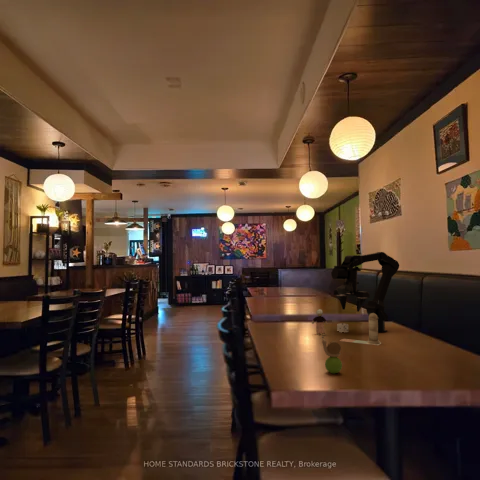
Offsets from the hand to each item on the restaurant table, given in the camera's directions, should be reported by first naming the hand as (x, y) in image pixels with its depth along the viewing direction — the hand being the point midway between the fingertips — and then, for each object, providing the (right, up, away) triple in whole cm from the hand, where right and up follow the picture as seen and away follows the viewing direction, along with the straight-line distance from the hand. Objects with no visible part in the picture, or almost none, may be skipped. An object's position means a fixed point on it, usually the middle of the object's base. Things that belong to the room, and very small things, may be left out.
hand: (350, 310), depth 194 cm
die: (-3, -12, +5) cm, 13 cm away
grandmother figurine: (-16, -12, -3) cm, 20 cm away
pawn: (+3, -10, -26) cm, 28 cm away
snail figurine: (-26, -8, -69) cm, 74 cm away
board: (-2, -10, -23) cm, 25 cm away
